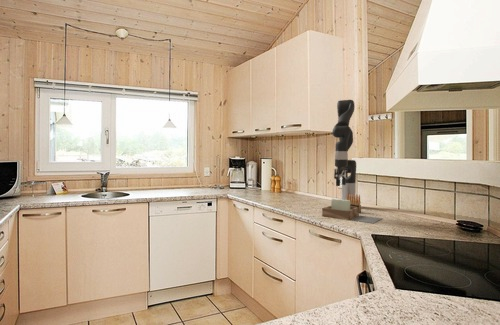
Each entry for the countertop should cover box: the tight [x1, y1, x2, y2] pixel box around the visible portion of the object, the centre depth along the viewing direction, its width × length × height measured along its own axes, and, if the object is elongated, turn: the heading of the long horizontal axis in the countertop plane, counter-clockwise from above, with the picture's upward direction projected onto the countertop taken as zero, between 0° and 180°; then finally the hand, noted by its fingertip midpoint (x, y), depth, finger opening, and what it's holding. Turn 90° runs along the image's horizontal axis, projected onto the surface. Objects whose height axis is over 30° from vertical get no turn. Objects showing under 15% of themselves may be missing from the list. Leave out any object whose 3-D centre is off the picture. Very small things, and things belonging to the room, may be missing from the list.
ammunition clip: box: [346, 193, 362, 214], centre depth 212 cm, size 11×2×12 cm, turn 37°
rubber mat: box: [350, 215, 383, 225], centre depth 188 cm, size 16×13×1 cm
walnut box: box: [321, 205, 360, 221], centre depth 199 cm, size 16×16×5 cm
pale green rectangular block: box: [330, 198, 350, 211], centre depth 199 cm, size 2×11×10 cm, turn 51°
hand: (340, 185), depth 198 cm, fingers open, 8 cm apart
